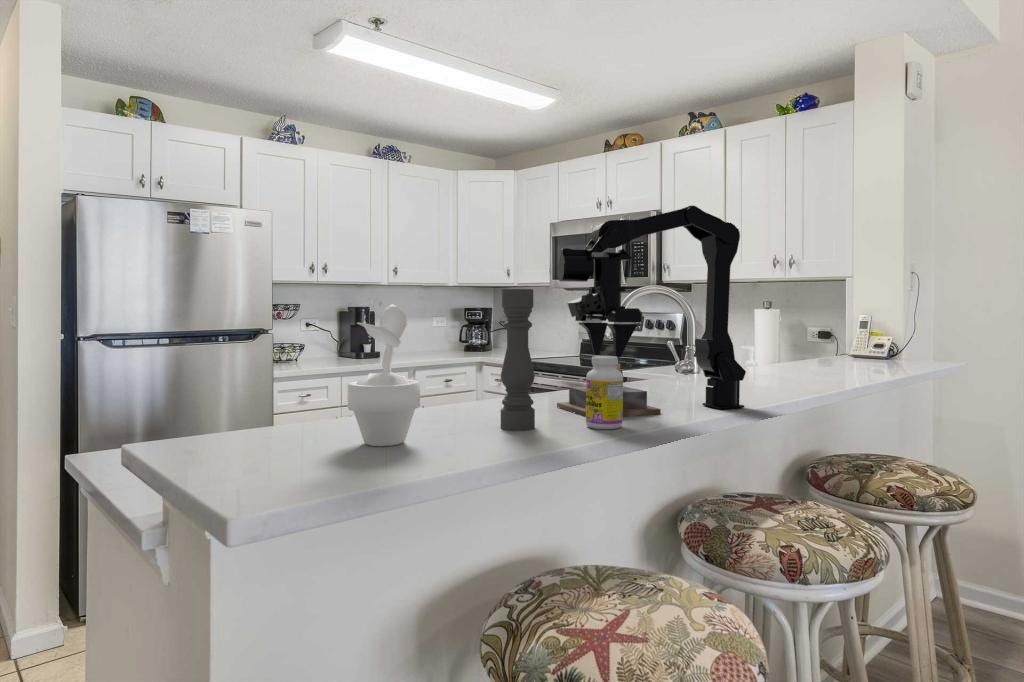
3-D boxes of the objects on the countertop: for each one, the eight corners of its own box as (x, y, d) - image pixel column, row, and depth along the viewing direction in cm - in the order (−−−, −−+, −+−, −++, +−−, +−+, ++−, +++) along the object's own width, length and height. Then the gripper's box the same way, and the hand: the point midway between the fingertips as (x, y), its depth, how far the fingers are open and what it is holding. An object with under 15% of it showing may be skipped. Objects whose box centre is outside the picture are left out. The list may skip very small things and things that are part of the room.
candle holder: (540, 429, 117) (540, 289, 116) (508, 431, 115) (507, 288, 114) (526, 423, 123) (526, 290, 122) (495, 425, 121) (495, 289, 120)
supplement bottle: (579, 425, 121) (579, 356, 121) (609, 422, 124) (609, 355, 124) (598, 431, 115) (599, 358, 115) (630, 428, 118) (630, 357, 118)
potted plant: (379, 433, 113) (377, 288, 112) (434, 440, 108) (433, 287, 107) (326, 447, 102) (323, 286, 101) (385, 455, 97) (383, 285, 96)
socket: (620, 403, 150) (620, 383, 149) (660, 413, 135) (660, 391, 134) (556, 407, 144) (556, 386, 144) (590, 418, 129) (591, 395, 129)
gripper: (554, 283, 144) (553, 354, 144) (594, 279, 126) (593, 360, 127) (599, 283, 148) (598, 353, 148) (644, 280, 130) (643, 359, 131)
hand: (606, 356), depth 139 cm, fingers open, 9 cm apart
